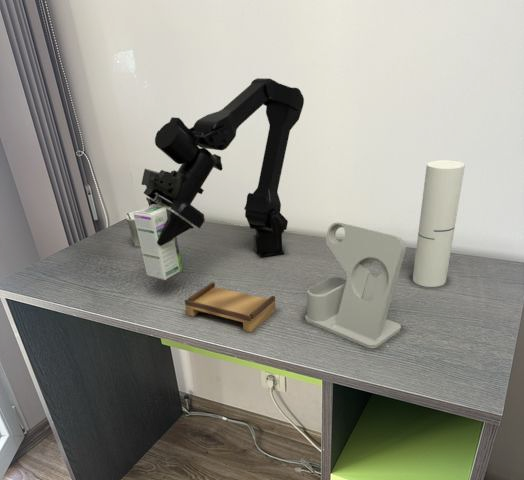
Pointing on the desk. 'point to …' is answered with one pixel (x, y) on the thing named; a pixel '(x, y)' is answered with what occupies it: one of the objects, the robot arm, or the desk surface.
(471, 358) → the desk surface
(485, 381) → the desk surface
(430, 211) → the cylindrical container
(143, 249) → the syrup box
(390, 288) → the phone holder
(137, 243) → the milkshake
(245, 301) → the wooden tray
